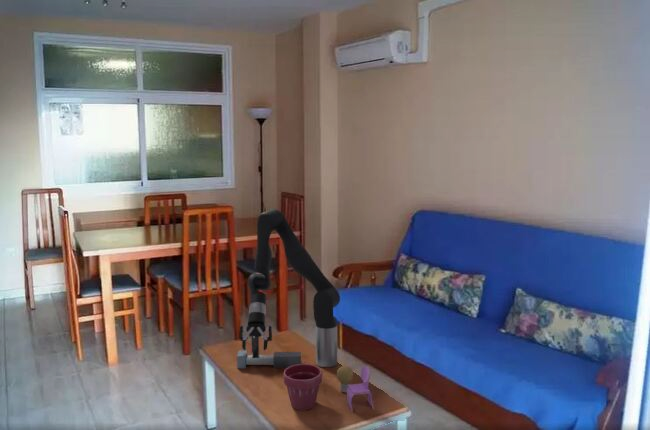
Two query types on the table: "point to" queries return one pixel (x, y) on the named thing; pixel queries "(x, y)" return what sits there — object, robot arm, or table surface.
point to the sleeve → (286, 359)
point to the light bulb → (344, 377)
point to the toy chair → (360, 387)
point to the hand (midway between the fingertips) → (254, 349)
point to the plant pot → (303, 385)
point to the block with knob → (255, 357)
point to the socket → (241, 359)
